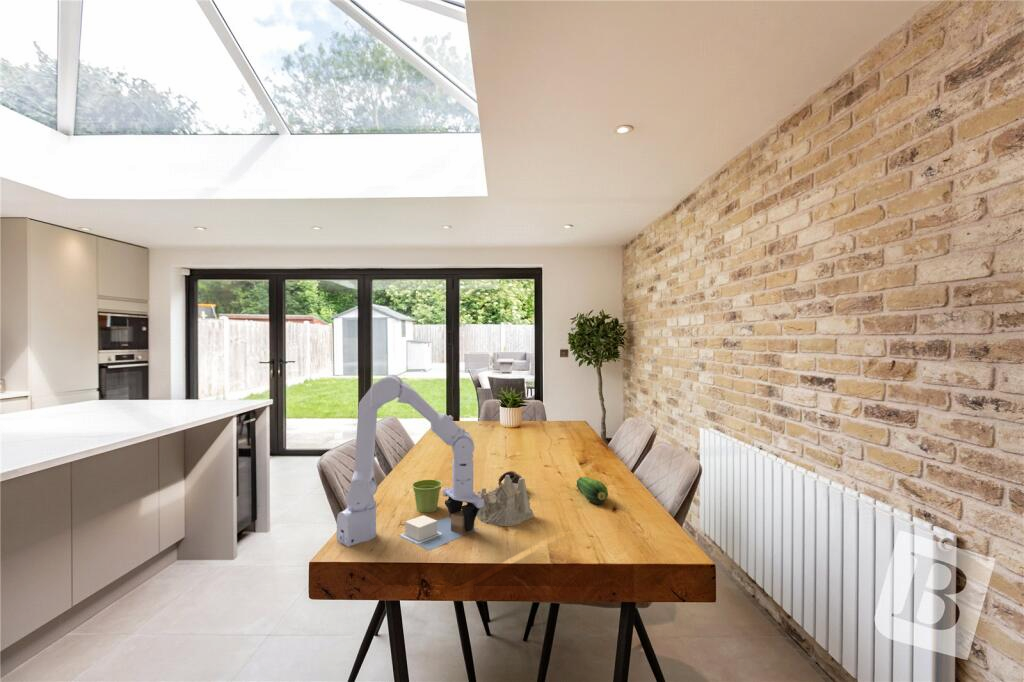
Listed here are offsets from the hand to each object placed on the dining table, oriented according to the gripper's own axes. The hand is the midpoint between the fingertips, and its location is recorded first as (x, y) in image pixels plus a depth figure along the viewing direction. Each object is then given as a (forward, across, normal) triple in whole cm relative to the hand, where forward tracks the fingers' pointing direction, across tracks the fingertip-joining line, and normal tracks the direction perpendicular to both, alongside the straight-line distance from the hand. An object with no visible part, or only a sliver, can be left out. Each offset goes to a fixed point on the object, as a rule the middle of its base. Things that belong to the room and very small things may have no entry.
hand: (462, 527), depth 119 cm
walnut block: (+1, 0, 0) cm, 1 cm away
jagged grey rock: (+2, -1, -16) cm, 16 cm away
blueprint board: (+2, +4, +5) cm, 7 cm away
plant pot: (+2, +20, -4) cm, 21 cm away
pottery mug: (+2, +13, -36) cm, 39 cm away
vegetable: (+2, -10, -50) cm, 51 cm away
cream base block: (+1, +6, +9) cm, 11 cm away
